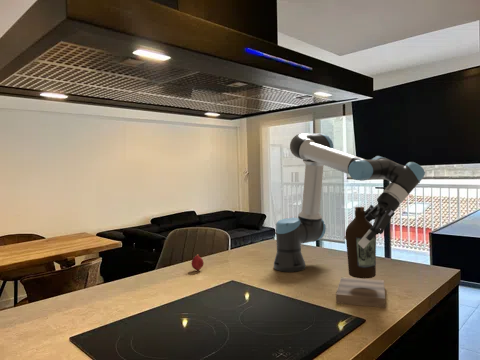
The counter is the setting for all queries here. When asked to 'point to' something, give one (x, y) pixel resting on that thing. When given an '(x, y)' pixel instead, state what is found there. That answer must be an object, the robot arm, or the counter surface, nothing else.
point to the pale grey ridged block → (361, 292)
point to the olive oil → (359, 258)
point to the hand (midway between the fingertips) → (353, 242)
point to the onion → (197, 262)
